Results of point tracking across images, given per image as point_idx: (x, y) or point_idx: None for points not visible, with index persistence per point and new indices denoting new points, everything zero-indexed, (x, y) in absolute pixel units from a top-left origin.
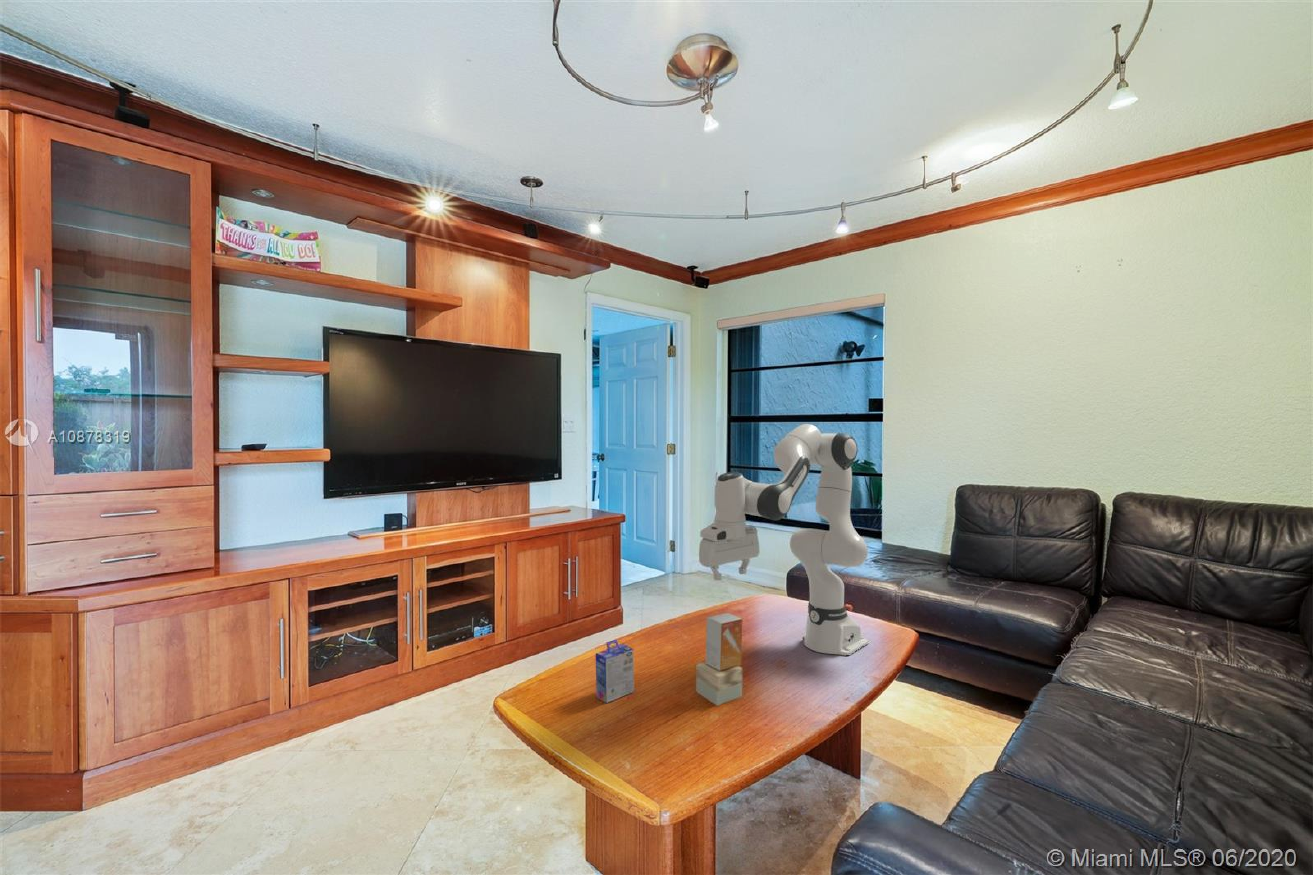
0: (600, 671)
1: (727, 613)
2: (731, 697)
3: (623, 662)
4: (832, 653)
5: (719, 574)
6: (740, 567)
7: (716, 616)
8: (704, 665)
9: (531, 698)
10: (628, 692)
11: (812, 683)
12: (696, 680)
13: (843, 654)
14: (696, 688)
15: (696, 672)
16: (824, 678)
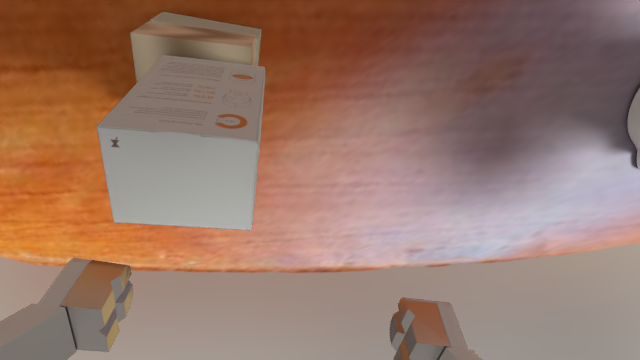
0: None
1: (244, 151)
2: None
3: None
4: (633, 140)
5: (79, 346)
6: (424, 353)
7: (155, 149)
8: (153, 58)
9: None
10: None
11: (433, 184)
12: (151, 19)
13: (638, 161)
14: (160, 14)
15: (140, 27)
16: (475, 188)
